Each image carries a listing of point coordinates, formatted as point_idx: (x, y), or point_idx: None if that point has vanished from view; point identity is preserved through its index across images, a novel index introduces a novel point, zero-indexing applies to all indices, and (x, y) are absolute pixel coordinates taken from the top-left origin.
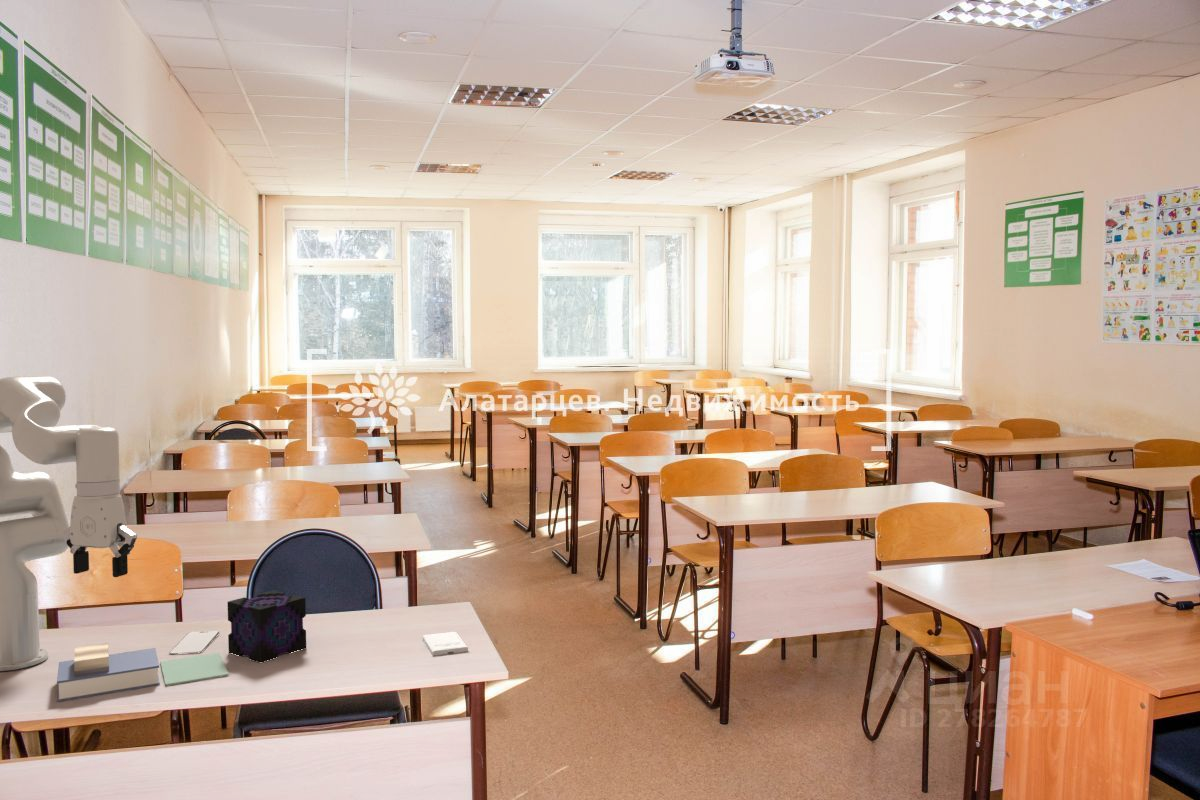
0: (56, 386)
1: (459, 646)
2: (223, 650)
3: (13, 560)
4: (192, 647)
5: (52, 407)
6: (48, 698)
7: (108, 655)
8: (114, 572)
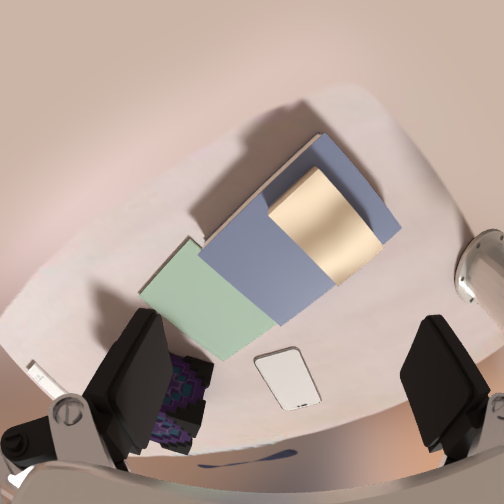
0: None
1: (30, 373)
2: (230, 370)
3: None
4: (278, 369)
5: None
6: (346, 143)
7: (273, 220)
8: (133, 323)
